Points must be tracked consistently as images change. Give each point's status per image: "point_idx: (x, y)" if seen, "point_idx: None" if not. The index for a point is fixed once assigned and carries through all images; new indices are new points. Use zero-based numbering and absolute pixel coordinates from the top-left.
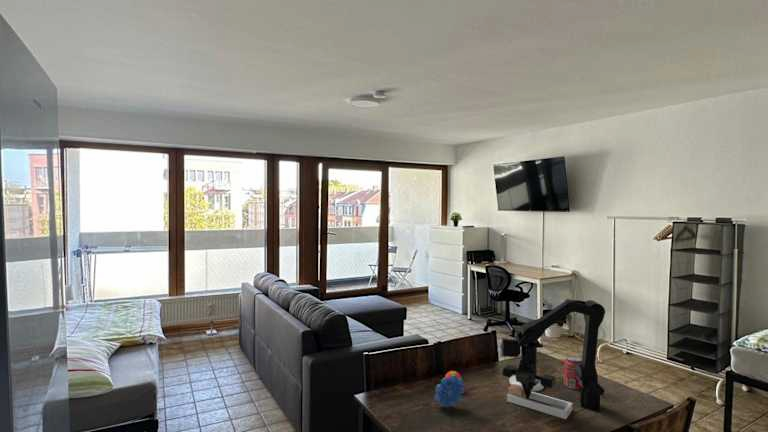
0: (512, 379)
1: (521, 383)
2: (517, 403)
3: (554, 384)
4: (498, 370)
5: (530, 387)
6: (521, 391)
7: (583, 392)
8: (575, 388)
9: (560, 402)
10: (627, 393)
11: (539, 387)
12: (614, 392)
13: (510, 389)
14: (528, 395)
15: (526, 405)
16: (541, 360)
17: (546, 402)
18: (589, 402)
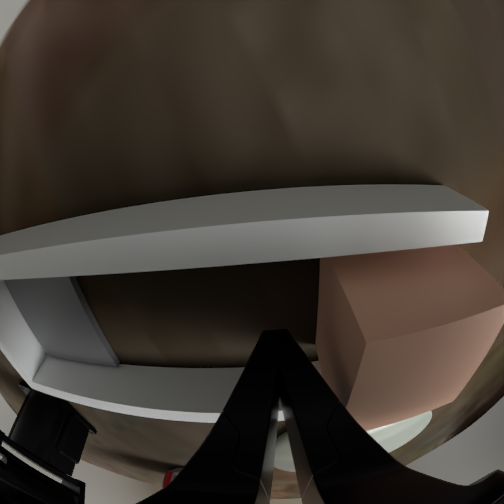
0: (417, 425)
1: (405, 479)
2: (345, 187)
3: (11, 484)
4: (454, 421)
5: (209, 473)
6: (363, 349)
7: (47, 449)
8: (173, 470)
9: (67, 382)
10: (97, 462)
11: (279, 452)
12: (111, 464)
13: (493, 297)
14: (260, 355)
15: (227, 198)
16: None
17: (152, 371)
18: (32, 410)
